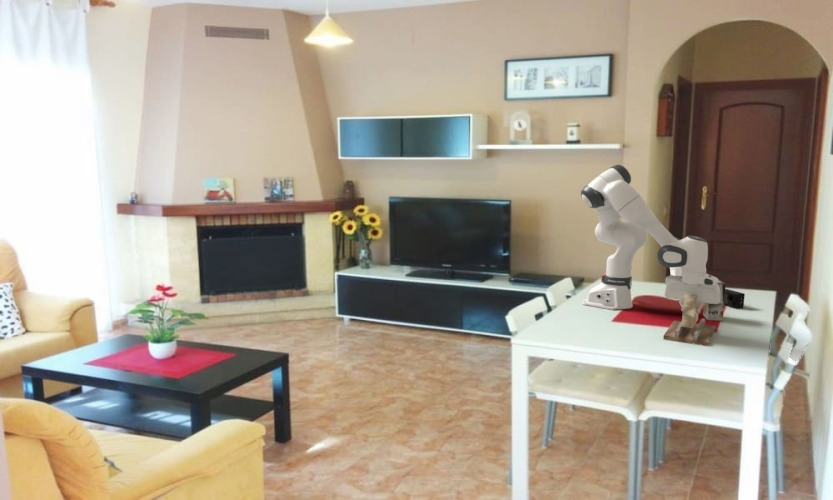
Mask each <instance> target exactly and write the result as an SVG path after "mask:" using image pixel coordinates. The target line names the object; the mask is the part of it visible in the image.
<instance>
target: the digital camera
mask: <svg viewBox="0 0 833 500" xmlns="http://www.w3.org/2000/svg"><path fill="white" fill-rule="evenodd" d="M745 296H746V294H745V293H743V292H740V291H736V290H732V289H728V288H725V297H724V306H725V307H727V308H728V307H729V308H732V309H736V310H741V309H744V306H745Z"/></svg>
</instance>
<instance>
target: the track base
mask: <svg viewBox="0 0 833 500" xmlns="http://www.w3.org/2000/svg"><path fill="white" fill-rule="evenodd" d="M699 321H700V322H699V323H695V325H694V327H693V328H689V327H682V320H681V321H679V320H673V321H672V323H671V324H670V326H668V329H666V331H665V333H664V334H663V337H662V338H663V340H668V341H674V342H681V343H686V342H687V343H688V344H693V343H695V344H694V345H700V344H702V346H707V345H708V344H710V342H711V339H712V338H713V335H714V334H715V331H716V326H715V325H711V324H710V325H709V324H706V318H701V319H700V320H699ZM708 346H709V345H708Z"/></svg>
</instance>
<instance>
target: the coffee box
mask: <svg viewBox="0 0 833 500" xmlns="http://www.w3.org/2000/svg"><path fill="white" fill-rule="evenodd" d="M717 285H718V286H719V287H720V302H719V303H718V304H711V303H704V305H703V308H702V309H703V311H702V316H703V317H704V319H705V320H707V321H719V322H722V321H723V319H724V306H725V305H724V297H725V289H726V285H727V284H726V283H725V282H724V281H723V280H721V279H718V283H717Z"/></svg>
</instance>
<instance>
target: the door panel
mask: <svg viewBox="0 0 833 500" xmlns="http://www.w3.org/2000/svg"><path fill="white" fill-rule="evenodd" d="M682 303H683V311H682V315H681V316H682V317H681V318H682V319H681V321H682V327H689V328H693V327H694V325H695V324H697V322H698V320H699V313H696V308H699V307H700V302H697V295H693V294H685V296H684V300H683V302H682Z"/></svg>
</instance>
